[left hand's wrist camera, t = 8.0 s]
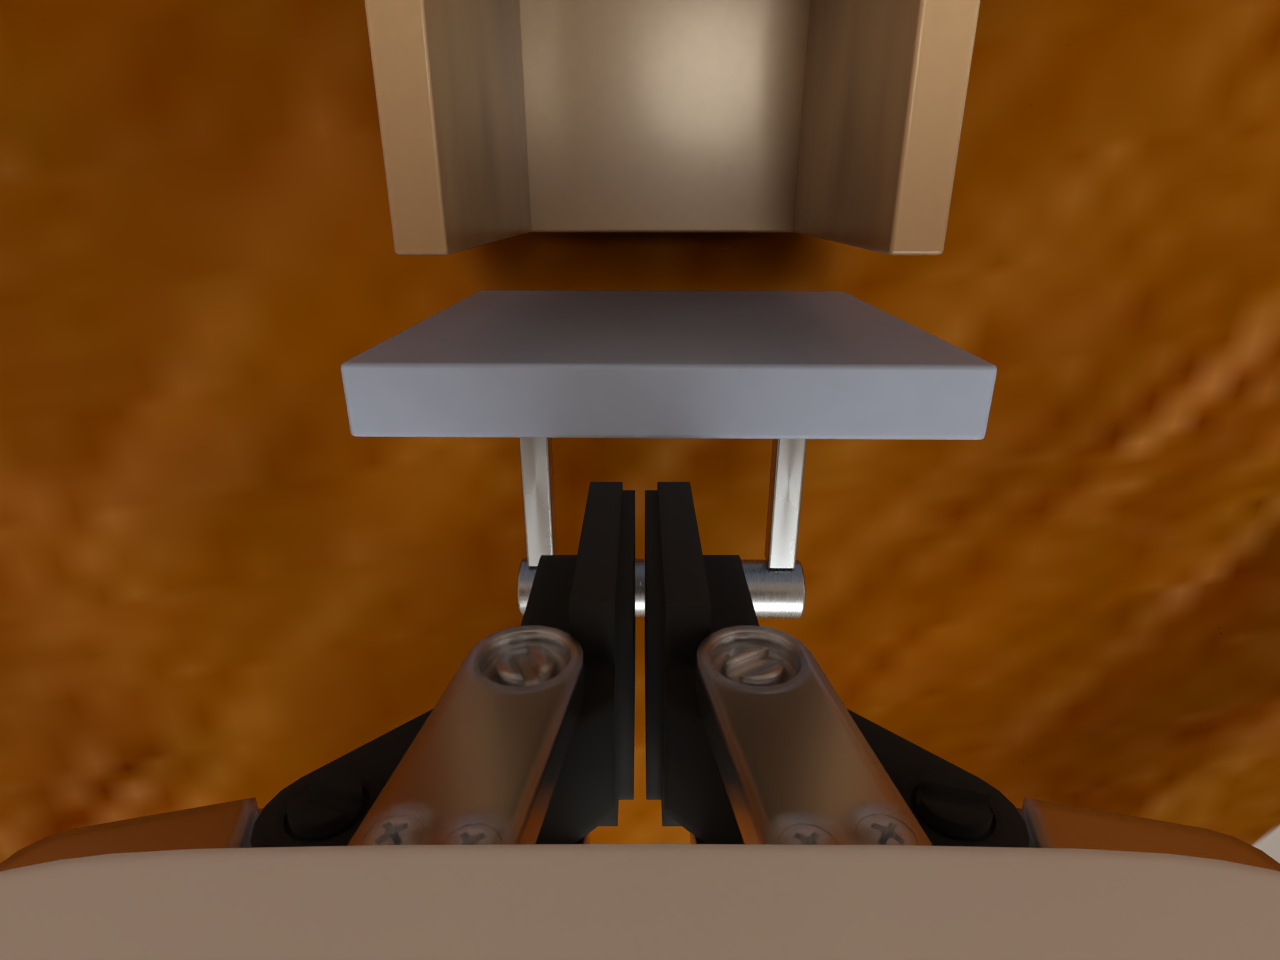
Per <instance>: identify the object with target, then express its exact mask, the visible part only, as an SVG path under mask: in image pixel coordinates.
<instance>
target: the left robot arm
mask: <svg viewBox="0 0 1280 960" xmlns="http://www.w3.org/2000/svg"><path fill="white" fill-rule="evenodd" d="M634 719H635V490H623V485H622V482H590V486H589V492H588V498H587V503H586V509H585V515H584V521H583V526H582V532H581V538H580V543H579V549H578V555H541V557H540V559H539V563H538V566H537V570H536V573H535V577H534V581H533V584H532V588H531V591H530V595H529V598H528V602H527V606H526V609H525V613H524V616H523V620H522V623H521V626H519V627H513V628H507V629H505V630H502V631H499V632H496V633H494V634H491V635H489V636H488V637H486V638H485V639H483V640H481V641H480V642H478V643H477V644H476V646H475V647H474V648H473V649H472V650H471V651H470V652H469V654H468V655H467V657H466V658H465V660H464V661H463V663H462V665H461V666H460V668H459V669H458V671H457V673H456V674H455V676H454V677H453V679H452V680H451V682H450V684H449V685H448V687H447V688H446V690H445V692H444V693H443V695H442V696H441V698H440V699H439V701H438V703H437V704H436V706H435V707H434V709H432V710H430V711H428V712H426V713H424V714H422V715H420V716H419V717H417V718H415V719H413V720H411V721H409V722H407V723H405V724H403V725H401V726H399V727H398V728H396V729H394V730H392V731H390V732H388V733H386V734H384V735H382V736H380V737H378V738H376V739H375V740H373V741H371V742H369V743H367V744H365V745H363V746H361V747H359V748H357V749H355V750H353V751H352V752H350V753H348V754H346V755H344V756H342V757H340V758H338V759H336V760H334V761H332V762H331V763H329V764H327V765H325V766H323V767H321V768H319V769H317V770H315V771H313V772H311V773H309V774H308V775H306V776H304V777H302V778H300V779H299V780H297V781H295V782H294V783H292V784H291V785H289V786H288V787H286V788H285V789H283V790H282V791H280V792H279V793H278V794H277V795H276V796H275V797H274V798H273V799H272V800H271V801H270V802H269V803H268V804H267V805H266V806H265V807H264V808H261V809H258V806H257V802H256V798H250V799H244V800H238V801H232V802H226V803H220V804H215V805H209V806H203V807H197V808H191V809H186V810H180V811H174V812H168V813H162V814H157V815H151V816H145V817H139V818H133V819H128V820H122V821H116V822H110V823H104V824H98V825H93V826H87V827H81V828H75V829H71V830H68V831H64V832H61V833H57V834H54V835H51V836H47V837H45V838H43V839H41V840H39V841H37V842H35V843H33V844H31V845H29V846H27V847H25V848H23V849H21V850H19V851H17V852H16V853H14V854H13V855H12V856H10V857H9V858H8V859H6V860H5V861H3V862H2V863H1V864H0V960H1280V864H1279V863H1278V862H1277V861H1275V860H1274V859H1272V858H1271V857H1270V856H1268V855H1267V854H1266V853H1264V852H1263V851H1261V850H1259V849H1257V848H1255V847H1253V846H1251V845H1249V844H1247V843H1245V842H1243V841H1241V840H1239V839H1237V838H1235V837H1233V836H1229V835H1226V834H1223V833H1219V832H1216V831H1212V830H1209V829H1205V828H1199V827H1193V826H1187V825H1182V824H1176V823H1170V822H1164V821H1158V820H1152V819H1147V818H1141V817H1135V816H1129V815H1123V814H1118V813H1112V812H1106V811H1100V810H1094V809H1089V808H1083V807H1077V806H1071V805H1065V804H1060V803H1054V802H1048V801H1042V800H1036V799H1030V798H1024V802H1023V806H1022V809H1019V808H1016V807H1015V806H1014V805H1013V804H1012V803H1011V802H1010V801H1009V800H1008V799H1007V798H1006V797H1005V796H1004V795H1003V794H1002V793H1001V792H1000V791H998V790H997V789H995V788H994V787H992V786H991V785H989V784H988V783H986V782H985V781H983V780H981V779H980V778H978V777H976V776H974V775H972V774H971V773H969V772H967V771H965V770H963V769H961V768H959V767H957V766H955V765H953V764H951V763H949V762H948V761H946V760H944V759H942V758H940V757H938V756H936V755H934V754H932V753H930V752H928V751H927V750H925V749H923V748H921V747H919V746H917V745H915V744H913V743H911V742H909V741H907V740H905V739H904V738H902V737H900V736H898V735H896V734H894V733H892V732H890V731H888V730H886V729H884V728H882V727H881V726H879V725H877V724H875V723H873V722H871V721H869V720H867V719H865V718H863V717H861V716H860V715H858V714H856V713H854V712H852V711H850V710H848V709H846V707H845V706H844V704H843V703H842V701H841V699H840V698H839V696H838V695H837V693H836V692H835V690H834V688H833V687H832V685H831V684H830V682H829V680H828V679H827V677H826V676H825V674H824V673H823V671H822V669H821V668H820V666H819V665H818V663H817V661H816V660H815V658H814V657H813V655H812V654H811V652H810V651H809V650H808V649H807V648H806V647H805V646H804V644H803V643H802V642H800V641H799V640H797V639H795V638H794V637H792V636H791V635H789V634H786V633H784V632H781V631H778V630H775V629H773V628H767V627H761V626H759V623H758V620H757V616H756V613H755V609H754V606H753V602H752V598H751V595H750V591H749V588H748V584H747V581H746V577H745V573H744V570H743V566H742V563H741V559H740V557H739V555H702V549H701V543H700V538H699V532H698V526H697V521H696V515H695V509H694V504H693V498H692V492H691V486H690V482H658V485H657V490H645V719H646V800H662V826H683V827H684V828H685V829H687V830H688V831H689V832H690V844H590V832H591V831H592V830H593V829H595V828H596V827H597V826H618V800H634Z"/></svg>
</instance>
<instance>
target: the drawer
mask: <svg viewBox="0 0 1280 960" xmlns="http://www.w3.org/2000/svg"><path fill="white" fill-rule="evenodd" d="M979 6H980V0H365V8H366V17H367V25H368V33H369V41H370V50H371V58H372V66H373V75H374V83H375V91H376V100H377V108H378V116H379V125H380V133H381V141H382V149H383V158H384V166H385V174H386V183H387V191H388V199H389V208H390V216H391V224H392V232H393V241H394V249H395V253H396V254H398V255H446V254H450V253H454V252H458V251H461V250H465V249H469V248H473V247H476V246H480V245H484V244H488V243H491V242H495V241H499V240H503V239H506V238H510V237H514V236H518V235H521V234H525V233H529V232H796V233H800V234H805V235H809V236H813V237H818V238H822V239H826V240H830V241H835V242H839V243H843V244H847V245H852V246H856V247H860V248H865V249H869V250H873V251H877V252H882V253H886V254H890V255H939V254H942V252H943V249H944V242H945V236H946V229H947V222H948V215H949V209H950V202H951V195H952V188H953V182H954V175H955V168H956V161H957V155H958V148H959V141H960V134H961V128H962V121H963V114H964V107H965V100H966V94H967V87H968V80H969V73H970V67H971V60H972V53H973V46H974V40H975V33H976V26H977V19H978V13H979ZM341 372H342V379H343V385H344V392H345V398H346V404H347V411H348V417H349V424H350V430H351V434H352V435H353V436H361V437H519V443H520V459H521V474H522V489H523V504H524V520H525V535H526V550H527V558H524V559H522V561H521V564H520V567H519V573H518V584H517V598H518V607H519V611H520V614H521V615H523V616H524V613H525V609H526V606H527V602H528V598H529V595H530V591H531V588H532V584H533V581H534V577H535V573H536V570H537V566H538V563H539V559H540V557H541V555H557V537H556V517H555V496H554V475H553V454H552V437H554V438H747V439H773V444H772V458H771V473H770V487H769V501H768V515H767V529H766V543H765V559H766V560H741V563H742V566H743V570H744V573H745V577H746V581H747V584H748V588H749V591H750V595H751V598H752V602H753V606H754V609H755V613H756V616H757V618H800V617H801V616H802V614H803V611H804V605H805V579H804V572H803V568H802V565H801V563H800V561H798V560H796V551H797V540H798V529H799V518H800V506H801V495H802V484H803V473H804V462H805V450H806V439H940V440H979V439H983V438H984V436H985V432H986V427H987V421H988V416H989V410H990V405H991V400H992V394H993V389H994V383H995V378H996V372H997V369H996V366H995V365H993V364H991V363H989V362H987V361H985V360H983V359H981V358H979V357H977V356H975V355H973V354H970V353H968V352H966V351H964V350H962V349H960V348H958V347H956V346H954V345H952V344H950V343H948V342H946V341H944V340H942V339H940V338H938V337H936V336H934V335H931V334H929V333H927V332H925V331H923V330H921V329H919V328H917V327H915V326H913V325H911V324H909V323H907V322H905V321H903V320H901V319H899V318H897V317H895V316H892V315H890V314H888V313H886V312H884V311H882V310H880V309H878V308H876V307H874V306H872V305H870V304H868V303H866V302H864V301H862V300H860V299H858V298H856V297H853V296H851V295H849V294H847V293H845V292H843V291H479V292H477V293H475V294H473V295H471V296H469V297H467V298H465V299H463V300H462V301H460V302H458V303H456V304H454V305H452V306H450V307H448V308H446V309H444V310H443V311H441V312H439V313H437V314H435V315H433V316H431V317H429V318H427V319H426V320H424V321H422V322H420V323H418V324H416V325H414V326H412V327H410V328H408V329H407V330H405V331H403V332H401V333H399V334H397V335H395V336H393V337H391V338H389V339H388V340H386V341H384V342H382V343H380V344H378V345H376V346H374V347H372V348H370V349H369V350H367V351H365V352H363V353H361V354H359V355H357V356H355V357H353V358H352V359H350V360H348V361H346V362H344V363H342V365H341ZM635 617H645V559H635Z"/></svg>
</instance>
